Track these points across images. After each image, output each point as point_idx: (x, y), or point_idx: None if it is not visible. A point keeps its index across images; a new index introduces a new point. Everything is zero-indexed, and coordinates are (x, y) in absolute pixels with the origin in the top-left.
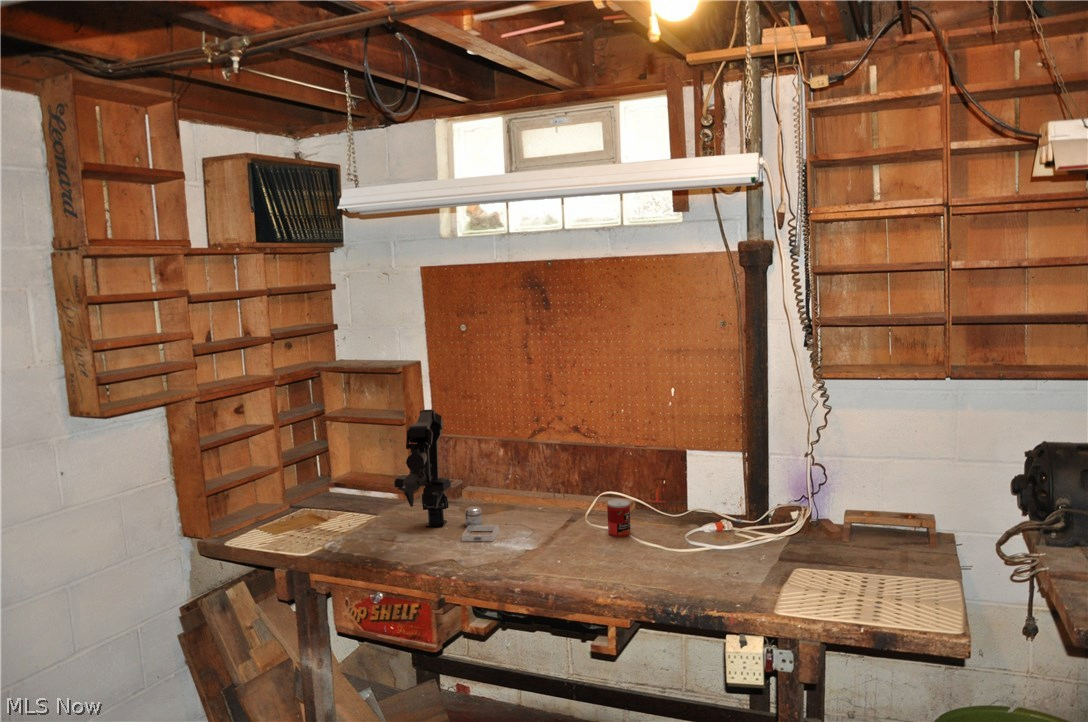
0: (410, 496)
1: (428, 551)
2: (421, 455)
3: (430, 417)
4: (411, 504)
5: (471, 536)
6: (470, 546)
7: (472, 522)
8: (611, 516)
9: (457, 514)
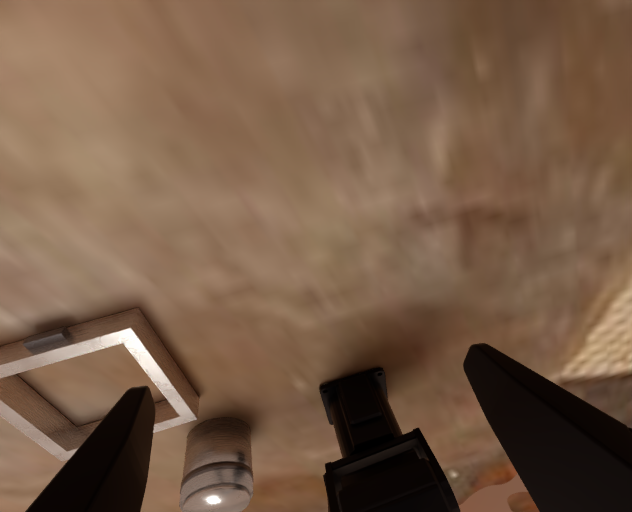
0: (586, 474)
1: (219, 131)
2: None
3: None
4: (491, 367)
5: (77, 340)
6: (31, 267)
7: (204, 440)
8: None
9: (325, 461)
